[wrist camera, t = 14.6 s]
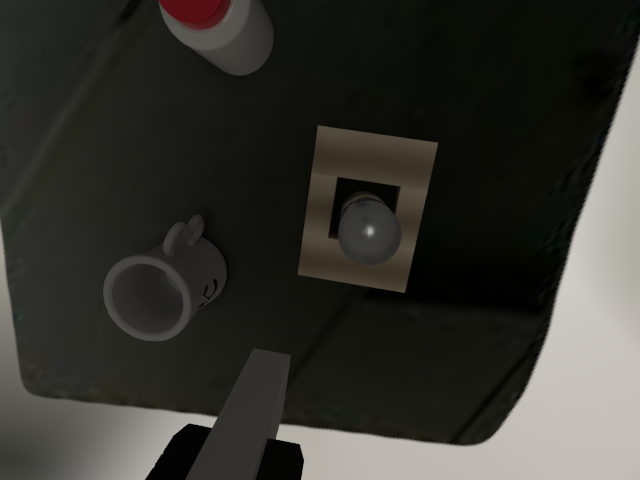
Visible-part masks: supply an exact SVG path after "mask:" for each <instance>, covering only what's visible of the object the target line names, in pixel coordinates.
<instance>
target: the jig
mask: <svg viewBox="0 0 640 480" xmlns="http://www.w3.org/2000/svg"><path fill="white" fill-rule="evenodd" d="M437 145H438V143H435V142H428V141H421V140H414V139H407V138H401V137H394V136H387V135H380V134H373V133H366V132H359V131H352V130H345V129H338V128H331V127H324V126H318V129H317V137H316V144H315V151H314V159H313V166H312V173H311V181H310V188H309V196H308V203H307V210H306V218H305V225H304V232H303V240H302V247H301V254H300V262H299V269H298V275H304V276H309V277H315V278H321V279H327V280H333V281H339V282H345V283H351V284H357V285H363V286H368V287H374V288H380V289H386V290H392V291H398V292H404V293H405V289H406V285H407V280H408V276H409V271H410V267H411V262H412V258H413V253H414V249H415V244H416V240H417V235H418V231H419V226H420V222H421V217H422V213H423V208H424V204H425V199H426V195H427V190H428V186H429V181H430V177H431V172H432V168H433V163H434V159H435V154H436V150H437ZM338 177H342V178H349V179H356V180H362V181H369V182H375V183H382V184H388V185H395V186H397V187H396V192H395V197H394V202H393V207H392V213H393V214H394V215H395V216H396V217H397V219H398V221H399V223H400V226H401V231H402V237H401V242H400V245H399V248H398V249H397V251H396V252H395V254H394V255H393V256H392V257H391V258H390V259H388V260H387V261H385V262H383V263H381V264H377V265H362V264H358V263H356V262H354V261H352V260H351V259H349V258H348V257H347V256H346V255H345V254H344V252H343V251H342V249H341V247H340V244H339V240H338V234H337V233H330V226H331V220H332V213H333V207H334V200H335V194H336V187H337V181H338Z"/></svg>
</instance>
